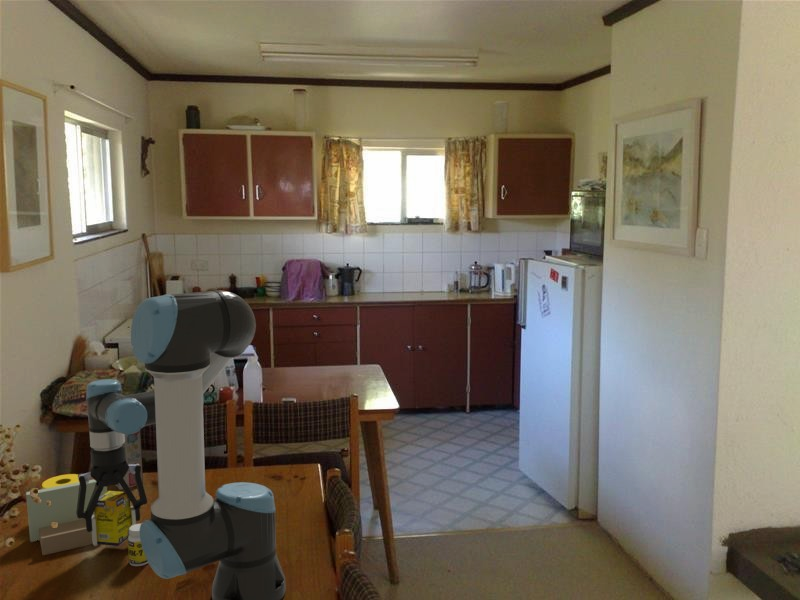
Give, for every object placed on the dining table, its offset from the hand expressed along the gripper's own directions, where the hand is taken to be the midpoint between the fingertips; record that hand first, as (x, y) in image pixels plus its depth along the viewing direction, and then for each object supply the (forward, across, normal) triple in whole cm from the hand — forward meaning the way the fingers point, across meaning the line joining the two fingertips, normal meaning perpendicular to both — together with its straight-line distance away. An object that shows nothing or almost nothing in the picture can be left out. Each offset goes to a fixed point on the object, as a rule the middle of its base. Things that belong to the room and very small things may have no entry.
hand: (114, 538), depth 167 cm
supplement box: (+1, 0, 0) cm, 1 cm away
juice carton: (+2, -10, -41) cm, 42 cm away
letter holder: (+2, +8, -11) cm, 14 cm away
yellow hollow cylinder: (+2, +8, -27) cm, 28 cm away
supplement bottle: (+3, -4, +9) cm, 11 cm away
